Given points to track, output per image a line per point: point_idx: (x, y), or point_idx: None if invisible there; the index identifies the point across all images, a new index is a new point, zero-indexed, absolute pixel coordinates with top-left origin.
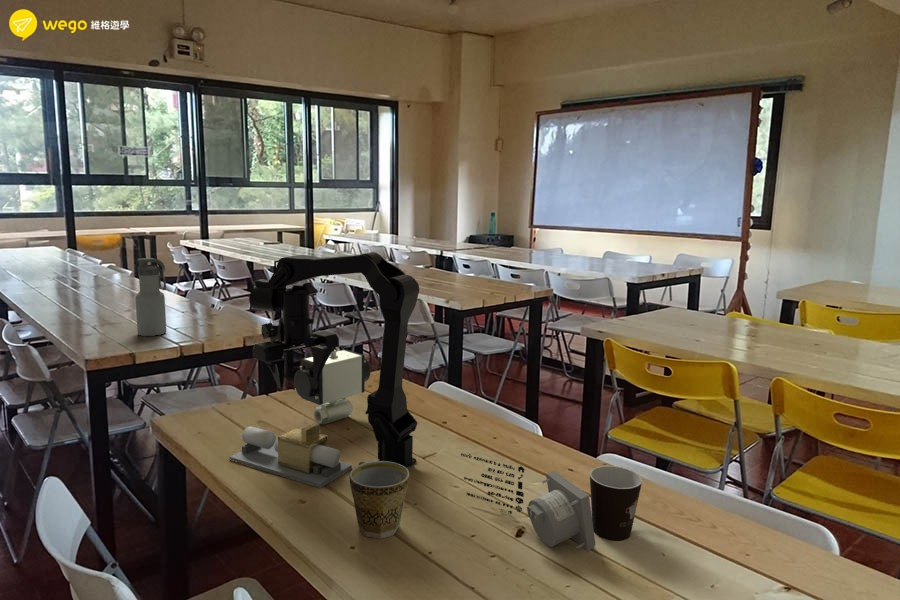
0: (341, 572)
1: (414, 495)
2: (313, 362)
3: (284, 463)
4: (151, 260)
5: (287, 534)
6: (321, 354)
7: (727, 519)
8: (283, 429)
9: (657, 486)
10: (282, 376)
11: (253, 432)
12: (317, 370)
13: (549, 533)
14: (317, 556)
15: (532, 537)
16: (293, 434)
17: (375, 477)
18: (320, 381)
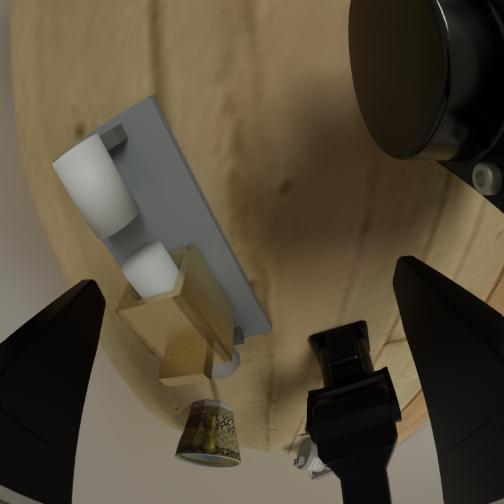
0: (157, 415)
1: (287, 394)
2: (476, 343)
3: None
4: None
5: (124, 378)
6: (459, 479)
7: (400, 438)
8: (260, 17)
9: (427, 418)
10: (78, 394)
11: (71, 197)
12: (417, 345)
13: (299, 454)
14: (144, 402)
15: (306, 436)
16: (155, 321)
17: (218, 440)
18: (458, 173)
